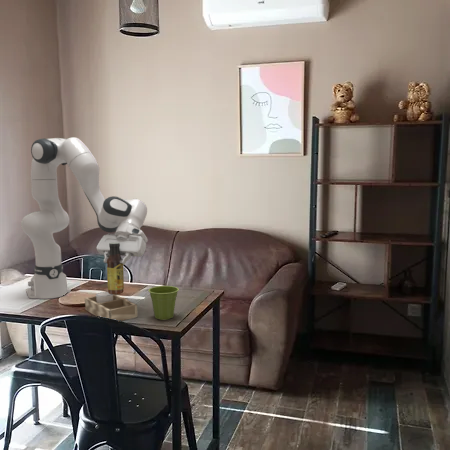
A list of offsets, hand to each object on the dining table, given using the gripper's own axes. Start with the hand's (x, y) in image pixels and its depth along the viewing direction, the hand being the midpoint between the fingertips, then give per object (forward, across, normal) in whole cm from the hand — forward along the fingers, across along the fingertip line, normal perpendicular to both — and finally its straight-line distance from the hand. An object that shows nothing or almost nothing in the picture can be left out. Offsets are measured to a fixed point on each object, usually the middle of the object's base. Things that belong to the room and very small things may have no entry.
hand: (113, 263), depth 195 cm
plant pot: (+11, +18, +20) cm, 29 cm away
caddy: (+13, -5, +18) cm, 22 cm away
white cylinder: (+11, -9, +20) cm, 24 cm away
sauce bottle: (+8, 0, +9) cm, 12 cm away
